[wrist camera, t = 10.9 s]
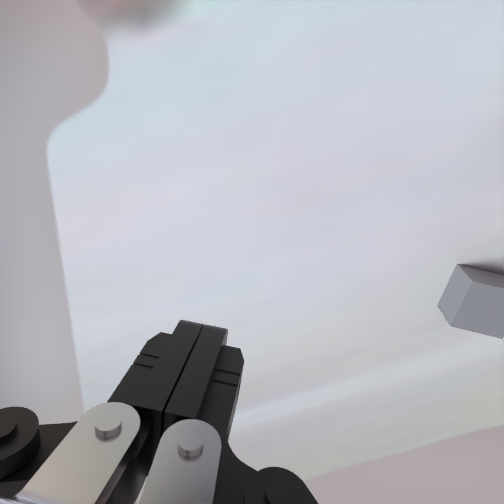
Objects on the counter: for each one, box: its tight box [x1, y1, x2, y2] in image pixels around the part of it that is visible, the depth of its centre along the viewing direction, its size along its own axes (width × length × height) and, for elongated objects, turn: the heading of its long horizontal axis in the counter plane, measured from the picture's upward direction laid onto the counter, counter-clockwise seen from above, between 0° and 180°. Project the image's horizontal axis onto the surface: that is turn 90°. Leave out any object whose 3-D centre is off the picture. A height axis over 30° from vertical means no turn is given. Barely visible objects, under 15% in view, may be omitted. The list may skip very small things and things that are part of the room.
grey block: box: [437, 264, 504, 339], centre depth 36 cm, size 5×5×4 cm
